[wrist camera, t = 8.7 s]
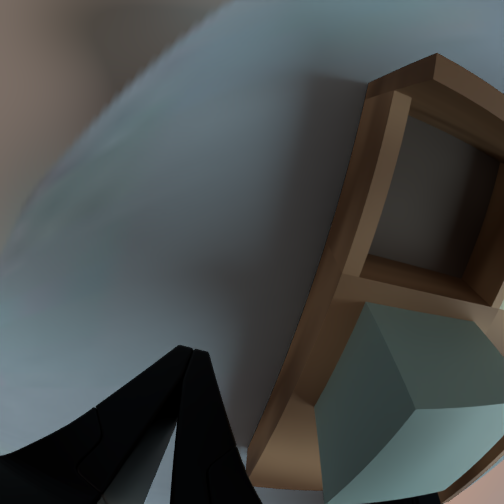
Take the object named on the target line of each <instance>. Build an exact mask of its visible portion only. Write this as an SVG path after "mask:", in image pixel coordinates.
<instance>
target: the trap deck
mask: <svg viewBox="0 0 504 504" xmlns="http://www.w3.org/2000/svg"><path fill="white" fill-rule="evenodd" d="M365 302H370V303H375V304H380V305H385V306H391V307H396V308H401V309H406V310H412V311H417V312H422V313H428V314H433V315H439V316H444V317H450V318H456V319H461V320H467V321H473V322H475V323H476V325H477V326H478V327H479V328H480V329H481V330H482V332H483V333H484V334H485V335H486V336H487V337H488V339H489V340H490V341H491V342H492V344H493V345H494V346H495V347H496V348H497V350H498V351H499V352H500V353H501V355H502V356H503V357H504V94H502V93H501V92H500V91H498V90H497V89H495V88H494V87H493V86H491V85H490V84H488V83H487V82H485V81H484V80H482V79H481V78H479V77H477V76H476V75H474V74H473V73H471V72H470V71H468V70H466V69H465V68H463V67H461V66H460V65H458V64H456V63H454V62H453V61H451V60H449V59H447V58H445V57H444V56H442V55H440V54H438V53H436V54H433V55H431V56H428V57H426V58H423V59H421V60H419V61H416V62H414V63H412V64H409V65H407V66H405V67H402V68H400V69H398V70H396V71H393V72H391V73H389V74H387V75H385V76H382V77H380V78H378V79H376V80H374V81H372V82H370V83H368V88H367V92H366V97H365V101H364V106H363V110H362V114H361V118H360V123H359V127H358V131H357V135H356V139H355V143H354V147H353V150H352V154H351V158H350V162H349V166H348V169H347V173H346V177H345V180H344V184H343V187H342V191H341V194H340V198H339V201H338V205H337V208H336V212H335V215H334V218H333V222H332V225H331V228H330V231H329V235H328V238H327V241H326V244H325V247H324V250H323V254H322V257H321V260H320V263H319V266H318V269H317V272H316V275H315V278H314V281H313V284H312V287H311V290H310V293H309V295H308V298H307V301H306V304H305V307H304V310H303V313H302V315H301V318H300V321H299V324H298V326H297V329H296V332H295V335H294V337H293V340H292V343H291V345H290V348H289V350H288V353H287V356H286V358H285V361H284V363H283V366H282V369H281V371H280V374H279V376H278V379H277V381H276V384H275V386H274V389H273V391H272V393H271V396H270V398H269V401H268V403H267V405H266V408H265V410H264V413H263V415H262V417H261V420H260V422H259V424H258V427H257V429H256V431H255V433H254V436H253V438H252V440H251V442H250V445H249V447H248V450H247V462H246V472H247V475H248V477H249V479H250V481H251V483H252V485H253V486H256V487H265V488H276V489H289V490H314V491H323V484H322V474H321V464H320V454H319V445H318V436H317V427H316V419H315V411H314V406H315V405H316V403H317V401H318V399H319V397H320V395H321V394H322V392H323V390H324V388H325V386H326V384H327V382H328V380H329V379H330V377H331V375H332V373H333V371H334V369H335V367H336V365H337V363H338V361H339V359H340V357H341V355H342V353H343V351H344V349H345V346H346V344H347V342H348V340H349V338H350V336H351V334H352V331H353V329H354V327H355V325H356V323H357V320H358V318H359V316H360V314H361V311H362V309H363V307H364V304H365ZM503 455H504V435H503V437H502V438H501V439H500V440H499V441H498V442H497V443H496V444H495V445H494V446H493V447H492V448H491V449H490V450H489V451H488V452H487V453H486V454H485V455H484V456H483V457H482V458H481V459H480V460H479V461H478V462H477V463H476V464H474V465H473V466H472V467H471V468H470V469H469V470H468V471H467V472H466V473H464V474H463V475H462V476H461V477H460V478H459V479H457V480H456V481H455V482H454V483H453V484H451V485H450V486H449V487H448V488H446V489H445V490H443V491H439V492H438V496H439V499H440V502H441V504H442V503H445V502H449V501H450V500H451V499H453V498H454V497H455V496H457V495H458V494H459V493H461V492H462V491H463V490H464V489H466V488H467V487H468V486H469V485H471V484H472V483H473V482H474V481H475V480H477V479H478V478H479V477H480V476H481V475H482V474H484V473H485V472H486V471H487V470H488V469H489V468H490V467H491V466H493V465H494V464H495V463H496V462H497V461H498V460H499V459H500V458H501V457H502V456H503Z"/></svg>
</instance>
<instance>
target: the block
mask: <svg viewBox="0 0 504 504" xmlns="http://www.w3.org/2000/svg"><path fill="white" fill-rule="evenodd" d="M314 411H315V419H316V427H317V436H318V445H319V454H320V464H321V474H322V484H323V495H324V504H362V503H373V502H382V501H390V500H397V499H403V498H409V497H415V496H420V495H425V494H430V493H435V492H439V491H443V490H445V489H446V488H448V487H449V486H450V485H451V484H453V483H454V482H455V481H456V480H457V479H459V478H460V477H461V476H462V475H463V474H464V473H466V472H467V471H468V470H469V469H470V468H471V467H472V466H473V465H474V464H476V463H477V462H478V461H479V460H480V459H481V458H482V457H483V456H484V455H485V454H486V453H487V452H488V451H489V450H490V449H491V448H492V447H493V446H494V445H495V444H496V443H497V442H498V441H499V440H500V439H501V438H502V437H503V435H504V357H503V356H502V355H501V353H500V352H499V351H498V350H497V348H496V347H495V346H494V345H493V344H492V342H491V341H490V340H489V339H488V337H487V336H486V335H485V334H484V333H483V332H482V330H481V329H480V328H479V327H478V326H477V325H476V323H475V322H473V321H467V320H461V319H456V318H450V317H444V316H439V315H433V314H428V313H422V312H417V311H412V310H406V309H401V308H396V307H391V306H385V305H380V304H375V303H370V302H365V304H364V307H363V309H362V311H361V314H360V316H359V318H358V320H357V323H356V325H355V327H354V329H353V331H352V334H351V336H350V338H349V340H348V342H347V344H346V346H345V349H344V351H343V353H342V355H341V357H340V359H339V361H338V363H337V365H336V367H335V369H334V371H333V373H332V375H331V377H330V379H329V380H328V382H327V384H326V386H325V388H324V390H323V392H322V394H321V395H320V397H319V399H318V401H317V403H316V405H315V406H314Z"/></svg>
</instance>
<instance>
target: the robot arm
mask: <svg viewBox="0 0 504 504" xmlns="http://www.w3.org/2000/svg"><path fill="white" fill-rule="evenodd" d="M176 423H177V429H176V439H175V449H174V459H173V470H172V482H171V496H170V504H262V502H261V500H260V498H259V497H258V495H257V493H256V491H255V489H254V487H253V485H252V483H251V481H250V479H249V477H248V475H247V472H246V470H245V467H244V465H243V462H242V459H241V457H240V454H239V451H238V448H237V447H236V442H235V439H234V436H233V433H232V430H231V427H230V423H229V420H228V417H227V414H226V411H225V407H224V404H223V401H222V397H221V394H220V391H219V387H218V384H217V380H216V377H215V373H214V370H213V366H212V362H211V359H210V355H209V353H208V352H206V351H202V350H198V349H194V350H193V349H192V348H190V347H186V346H182V345H178V346H177V347H175V348H174V349H173V350H171V351H170V352H169V353H167V354H166V355H165V356H163V357H162V358H161V359H159V360H158V361H157V362H155V363H154V364H153V365H151V366H150V367H149V368H147V369H146V370H145V371H143V372H142V373H141V374H139V375H138V376H136V377H135V378H134V379H132V380H131V381H130V382H128V383H127V384H126V385H124V386H123V387H121V388H120V389H119V390H117V391H116V392H115V393H113V394H112V395H110V396H109V397H108V398H106V399H105V400H103V401H102V402H101V403H99V404H98V405H97V406H96V408H95V407H93V408H92V409H91V410H89V411H88V412H86V413H85V414H84V415H82V416H81V417H79V418H78V419H76V420H74V421H73V422H71V423H70V424H68V425H66V426H65V427H63V428H61V429H59V430H57V431H55V432H54V433H52V434H50V435H48V436H46V437H44V438H42V439H40V440H38V441H36V442H34V443H31V444H29V445H27V446H25V447H23V448H21V449H19V450H17V451H14V452H12V453H9V454H6V455H2V456H0V504H144V502H145V499H146V497H147V494H148V492H149V489H150V487H151V484H152V482H153V480H154V477H155V475H156V472H157V470H158V467H159V465H160V463H161V460H162V458H163V455H164V453H165V450H166V448H167V446H168V443H169V441H170V438H171V436H172V433H173V431H174V429H175V426H176ZM369 504H441V502H440V499H439V496H438V492H435V493H430V494H425V495H420V496H415V497H409V498H403V499H397V500H390V501H382V502H373V503H369ZM442 504H443V503H442Z"/></svg>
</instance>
